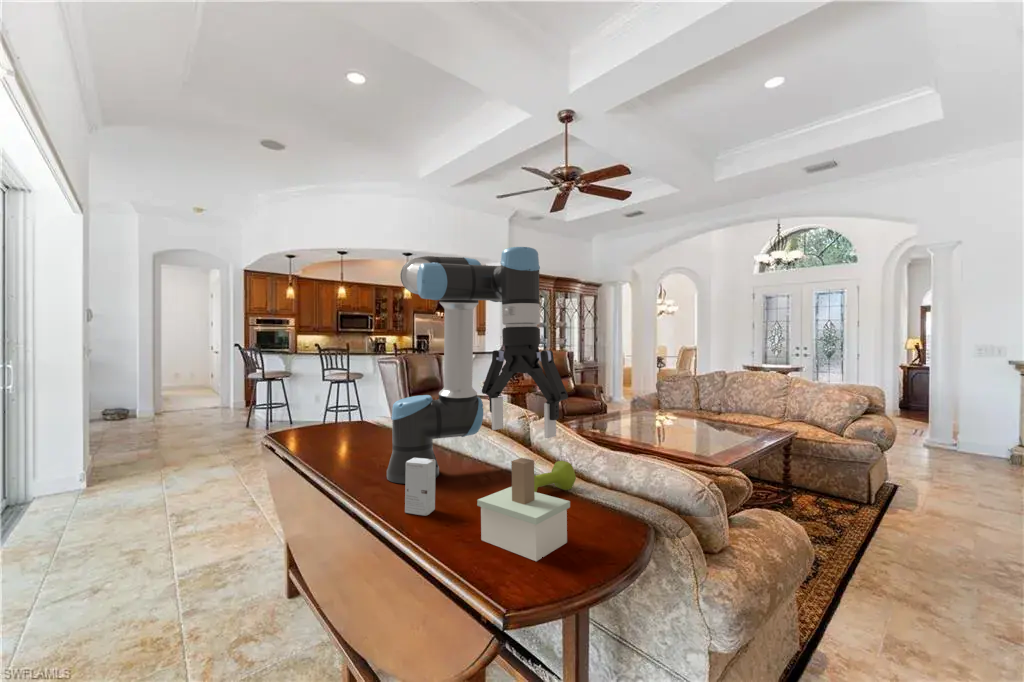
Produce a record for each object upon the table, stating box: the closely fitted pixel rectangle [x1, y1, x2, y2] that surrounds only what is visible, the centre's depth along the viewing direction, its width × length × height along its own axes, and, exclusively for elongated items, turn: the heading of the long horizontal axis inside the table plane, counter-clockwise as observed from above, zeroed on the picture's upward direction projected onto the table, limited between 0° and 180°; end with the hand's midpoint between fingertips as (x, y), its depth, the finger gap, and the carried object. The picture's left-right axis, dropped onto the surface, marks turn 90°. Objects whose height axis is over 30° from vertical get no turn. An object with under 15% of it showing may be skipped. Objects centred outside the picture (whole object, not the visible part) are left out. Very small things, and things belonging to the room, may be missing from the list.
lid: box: [476, 457, 571, 525], centre depth 93 cm, size 15×11×10 cm
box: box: [480, 507, 568, 562], centre depth 93 cm, size 14×10×7 cm
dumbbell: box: [534, 460, 577, 493], centre depth 122 cm, size 16×8×7 cm, turn 122°
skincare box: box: [404, 458, 437, 517], centre depth 110 cm, size 6×4×12 cm
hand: (522, 432), depth 93 cm, fingers open, 13 cm apart
